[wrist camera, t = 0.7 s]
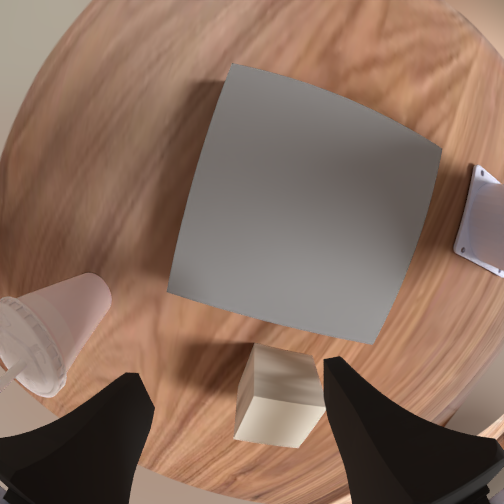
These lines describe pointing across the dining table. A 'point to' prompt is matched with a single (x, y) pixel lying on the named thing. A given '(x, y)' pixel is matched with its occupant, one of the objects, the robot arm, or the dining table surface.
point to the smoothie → (50, 331)
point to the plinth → (302, 208)
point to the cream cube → (278, 397)
